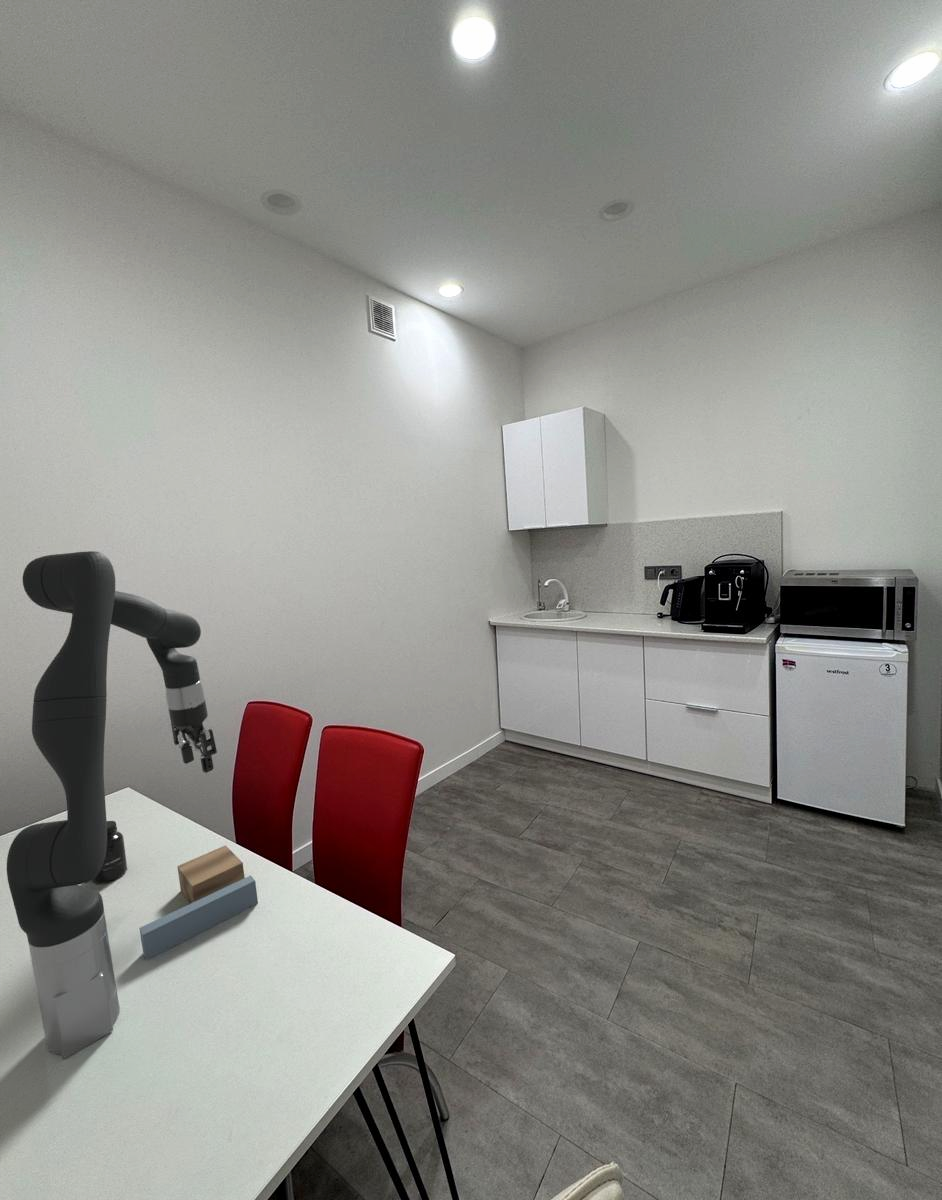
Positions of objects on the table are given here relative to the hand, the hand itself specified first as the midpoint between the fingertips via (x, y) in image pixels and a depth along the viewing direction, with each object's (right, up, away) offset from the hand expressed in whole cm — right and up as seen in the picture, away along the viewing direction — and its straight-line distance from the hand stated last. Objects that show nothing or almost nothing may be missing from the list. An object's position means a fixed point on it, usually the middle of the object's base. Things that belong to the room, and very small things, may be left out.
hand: (198, 766), depth 123 cm
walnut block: (+8, -23, -10) cm, 27 cm away
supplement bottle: (-19, -24, -3) cm, 31 cm away
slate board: (+12, -24, -21) cm, 35 cm away
